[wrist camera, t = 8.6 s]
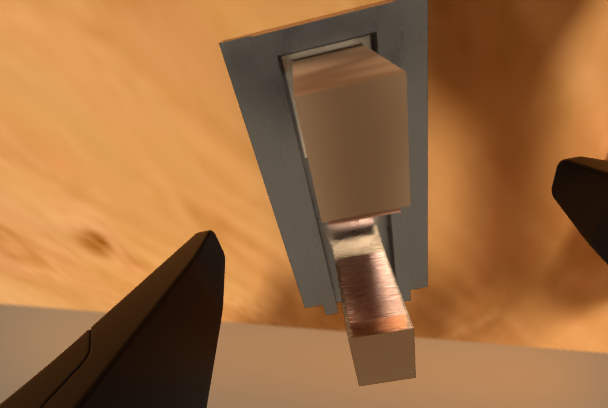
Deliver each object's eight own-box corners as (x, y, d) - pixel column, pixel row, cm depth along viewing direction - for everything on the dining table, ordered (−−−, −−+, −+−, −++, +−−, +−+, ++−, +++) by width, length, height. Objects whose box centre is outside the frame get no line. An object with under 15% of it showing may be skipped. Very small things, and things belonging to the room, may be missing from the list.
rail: (420, -9, 15) (521, -13, 9) (423, 277, 26) (469, 373, 19) (222, 41, 16) (175, 71, 10) (304, 298, 27) (309, 397, 20)
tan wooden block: (361, 43, 16) (406, 71, 10) (372, 148, 19) (410, 217, 13) (292, 60, 16) (294, 97, 10) (313, 160, 19) (324, 234, 13)
